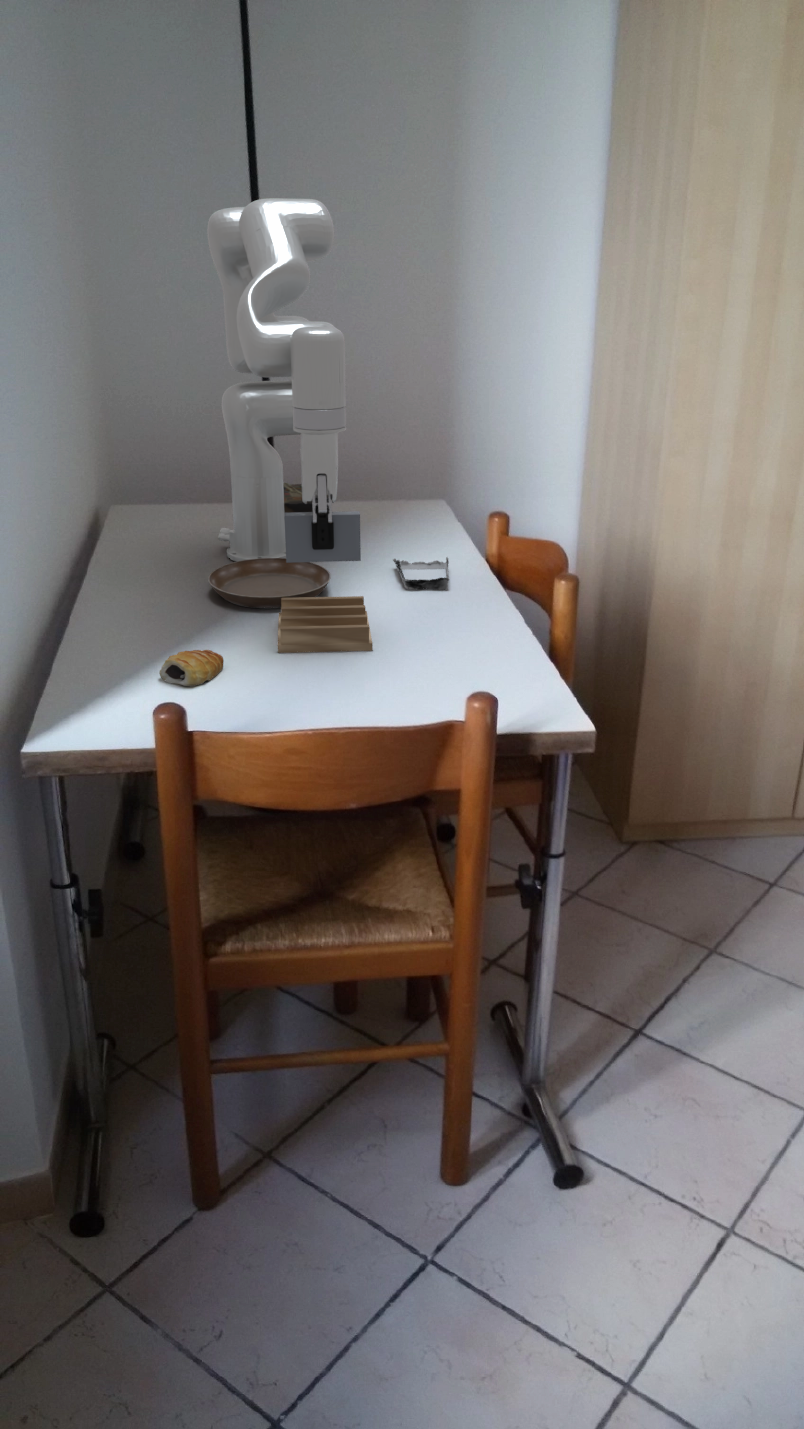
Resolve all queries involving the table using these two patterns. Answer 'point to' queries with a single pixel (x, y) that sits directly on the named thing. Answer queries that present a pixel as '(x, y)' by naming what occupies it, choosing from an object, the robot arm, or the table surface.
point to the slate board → (301, 538)
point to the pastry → (191, 667)
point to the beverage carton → (295, 499)
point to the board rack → (323, 625)
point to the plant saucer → (268, 581)
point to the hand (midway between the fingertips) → (322, 545)
